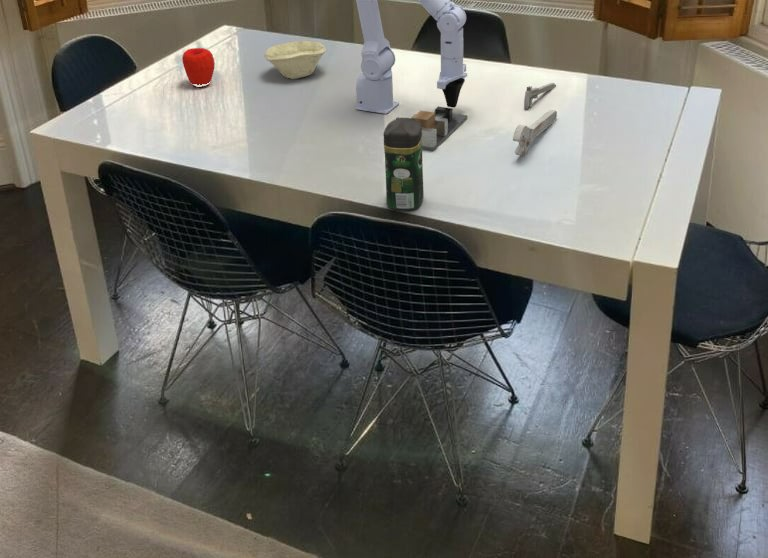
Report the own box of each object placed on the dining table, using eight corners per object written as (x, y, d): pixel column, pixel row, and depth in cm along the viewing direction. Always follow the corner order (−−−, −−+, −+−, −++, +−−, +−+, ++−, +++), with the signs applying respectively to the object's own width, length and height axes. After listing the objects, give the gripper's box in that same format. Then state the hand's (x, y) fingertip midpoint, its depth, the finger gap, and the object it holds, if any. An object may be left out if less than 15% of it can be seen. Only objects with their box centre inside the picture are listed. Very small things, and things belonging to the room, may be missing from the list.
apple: (221, 80, 274) (216, 44, 269) (210, 91, 267) (205, 54, 261) (193, 79, 276) (188, 43, 270) (181, 89, 269) (175, 53, 263)
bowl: (290, 98, 272) (251, 65, 270) (315, 73, 285) (278, 41, 284) (313, 66, 263) (273, 32, 261) (338, 42, 276) (300, 9, 274)
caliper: (527, 111, 246) (528, 89, 243) (523, 110, 246) (524, 88, 243) (556, 86, 261) (557, 65, 257) (552, 86, 261) (553, 64, 258)
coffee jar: (391, 191, 208) (388, 113, 199) (426, 193, 207) (424, 114, 197) (382, 211, 200) (379, 131, 191) (418, 213, 199) (417, 132, 189)
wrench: (555, 130, 241) (518, 163, 217) (548, 129, 242) (510, 161, 218) (558, 100, 238) (520, 129, 214) (551, 99, 239) (513, 128, 214)
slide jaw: (411, 131, 234) (411, 116, 232) (429, 116, 242) (429, 101, 240) (444, 136, 231) (444, 121, 228) (461, 120, 239) (461, 106, 237)
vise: (400, 145, 229) (399, 126, 227) (435, 114, 246) (435, 96, 243) (433, 151, 226) (433, 132, 223) (467, 118, 242) (467, 100, 240)
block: (412, 140, 229) (412, 117, 226) (420, 132, 233) (420, 110, 230) (427, 142, 228) (426, 119, 225) (435, 135, 232) (435, 112, 228)
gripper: (455, 66, 229) (455, 118, 236) (477, 48, 240) (476, 98, 247) (429, 63, 232) (429, 114, 239) (452, 45, 242) (452, 95, 250)
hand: (451, 106), depth 243 cm, fingers closed
